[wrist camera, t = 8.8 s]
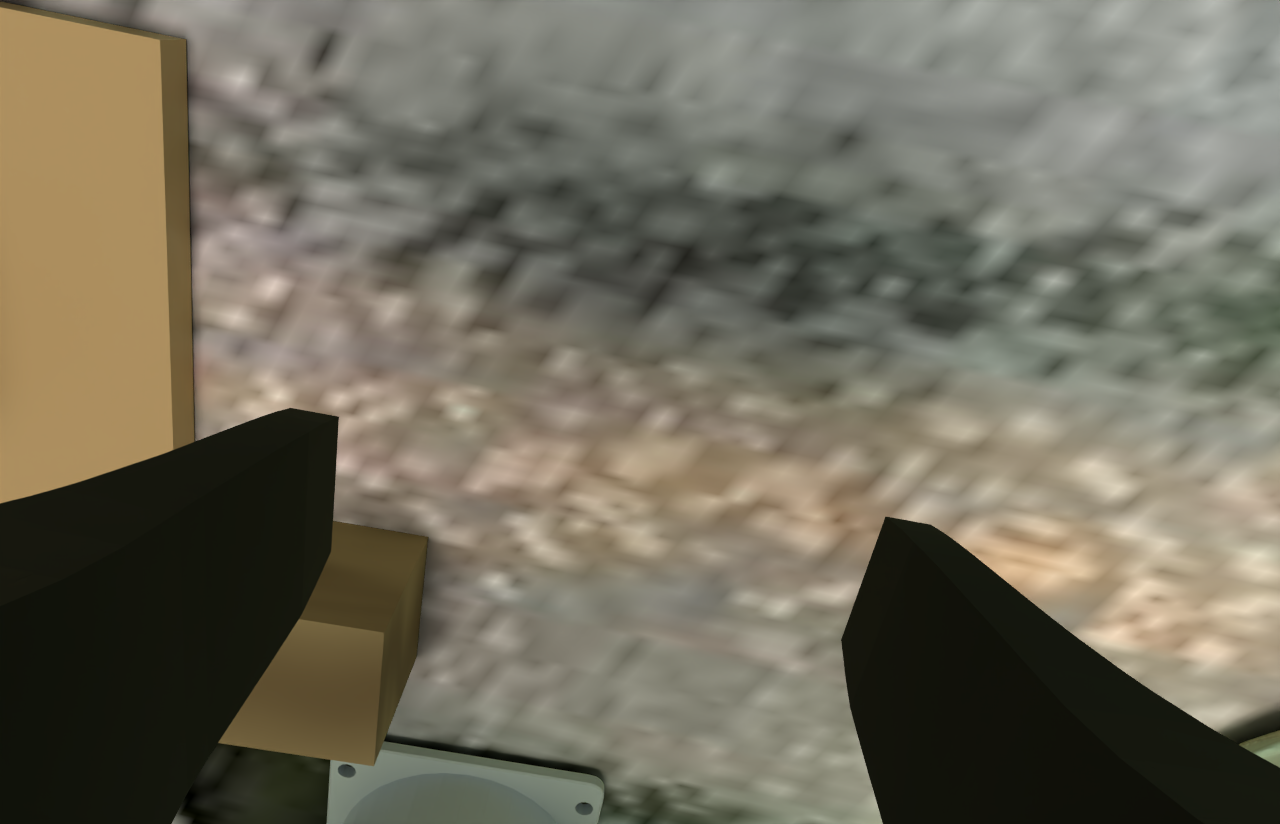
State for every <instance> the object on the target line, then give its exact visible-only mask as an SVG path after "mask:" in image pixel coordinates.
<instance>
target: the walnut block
mask: <svg viewBox="0 0 1280 824" xmlns="http://www.w3.org/2000/svg"><path fill="white" fill-rule="evenodd" d="M427 544H428V537H425V536H419V535H413V534H407V533H401V532H396V531H390V530H384V529H378V528H372V527H366V526H360V525H354V524H348V523H342V522H336V521H333V529H332V547H331V553H330V555H329V557H328V560H327V562H326V564H325V566H324V568H323V571H322V573H321V575H320V577H319V580H318V582H317V584H316V586H315V588H314V590H313V592H312V594H311V596H310V599H309V601H308V603H307V605H306V607H305V609H304V611H303V613H302V615H301V617H300V618H299V620H298V621H297V623H296V624H295V626H294V628H293V629H292V631H291V632H290V634H289V635H288V637H287V639H286V640H285V642H284V643H283V645H282V646H281V648H280V649H279V651H278V652H277V654H276V656H275V657H274V659H273V660H272V662H271V663H270V665H269V666H268V668H267V669H266V671H265V672H264V674H263V675H262V677H261V678H260V680H259V681H258V683H257V684H256V686H255V688H254V689H253V691H252V692H251V694H250V695H249V697H248V698H247V700H246V701H245V703H244V704H243V706H242V707H241V709H240V710H239V712H238V713H237V715H236V716H235V718H234V719H233V721H232V722H231V724H230V725H229V727H228V728H227V730H226V732H225V733H224V735H223V736H222V738H221V739H220V741H219V742H218V743H223V744H230V745H236V746H243V747H249V748H256V749H263V750H269V751H276V752H282V753H289V754H296V755H302V756H309V757H315V758H322V759H329V760H335V761H342V762H348V763H355V764H362V765H368V766H374V765H375V762H376V760H377V757H378V755H379V752H380V749H381V747H382V744H383V742H384V739H385V737H386V734H387V731H388V729H389V726H390V724H391V721H392V719H393V716H394V713H395V711H396V708H397V706H398V703H399V701H400V698H401V695H402V693H403V690H404V688H405V685H406V683H407V680H408V677H409V675H410V672H411V670H412V667H413V665H414V662H415V659H416V657H417V647H418V636H419V626H420V616H421V606H422V595H423V585H424V575H425V564H426V554H427Z"/></svg>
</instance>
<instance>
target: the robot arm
mask: <svg viewBox="0 0 1280 824" xmlns="http://www.w3.org/2000/svg"><path fill="white" fill-rule="evenodd" d="M338 420H339V417H337V416H332V415H326V414H321V413H315V412H310V411H304V410H299V409H293V408H289V409H285V410H281V411H277V412H274V413H271V414H268V415H265V416H262V417H259V418H257V419H254V420H251V421H248V422H246V423H243V424H240V425H238V426H235V427H233V428H230V429H227V430H225V431H222V432H219V433H217V434H214V435H212V436H209V437H206V438H204V439H201V440H198V441H196V442H193V443H190V444H188V445H185V446H182V447H180V448H177V449H174V450H172V451H169V452H167V453H164V454H161V455H158V456H155V457H152V458H149V459H146V460H143V461H140V462H137V463H134V464H131V465H128V466H125V467H122V468H119V469H116V470H113V471H110V472H107V473H104V474H101V475H98V476H96V477H93V478H90V479H87V480H84V481H81V482H77V483H74V484H71V485H67V486H64V487H60V488H57V489H53V490H50V491H46V492H43V493H39V494H35V495H32V496H28V497H24V498H20V499H16V500H12V501H8V502H4V503H0V824H171V823H172V821H173V819H174V817H175V816H176V814H177V812H178V810H179V808H180V806H181V804H182V802H183V800H184V798H185V796H186V794H187V793H188V791H189V789H190V787H191V786H192V784H193V782H194V781H195V779H196V777H197V776H198V774H199V772H200V771H201V769H202V767H203V766H204V764H205V762H206V761H207V759H208V757H209V756H210V754H211V753H212V751H213V750H214V748H215V747H216V745H217V744H218V742H219V741H220V739H221V738H222V736H223V735H224V733H225V732H226V730H227V728H228V727H229V725H230V724H231V722H232V721H233V719H234V718H235V716H236V715H237V713H238V712H239V710H240V709H241V707H242V706H243V704H244V703H245V701H246V700H247V698H248V697H249V695H250V694H251V692H252V691H253V689H254V688H255V686H256V684H257V683H258V681H259V680H260V678H261V677H262V675H263V674H264V672H265V671H266V669H267V668H268V666H269V665H270V663H271V662H272V660H273V659H274V657H275V656H276V654H277V652H278V651H279V649H280V648H281V646H282V645H283V643H284V642H285V640H286V639H287V637H288V635H289V634H290V632H291V631H292V629H293V628H294V626H295V624H296V623H297V621H298V620H299V618H300V617H301V615H302V613H303V611H304V609H305V607H306V605H307V603H308V601H309V599H310V596H311V594H312V592H313V590H314V588H315V586H316V584H317V582H318V580H319V577H320V575H321V573H322V571H323V568H324V566H325V564H326V562H327V560H328V557H329V555H330V553H331V547H332V529H333V511H334V492H335V474H336V456H337V438H338ZM841 641H842V650H843V659H844V667H845V676H846V683H847V689H848V696H849V703H850V708H851V712H852V716H853V720H854V723H855V727H856V731H857V734H858V738H859V741H860V745H861V749H862V752H863V756H864V759H865V763H866V766H867V770H868V773H869V777H870V780H871V784H872V787H873V790H874V794H875V797H876V801H877V804H878V808H879V811H880V815H881V818H882V822H883V824H1280V767H1278V766H1276V765H1274V764H1272V763H1271V762H1269V761H1267V760H1265V759H1263V758H1261V757H1260V756H1258V755H1256V754H1254V753H1252V752H1250V751H1249V750H1247V749H1245V748H1243V747H1242V746H1240V745H1238V744H1237V743H1235V742H1233V741H1231V740H1230V739H1228V738H1226V737H1225V736H1223V735H1221V734H1220V733H1218V732H1216V731H1214V730H1213V729H1211V728H1209V727H1208V726H1206V725H1205V724H1203V723H1201V722H1200V721H1198V720H1197V719H1195V718H1194V717H1192V716H1190V715H1189V714H1187V713H1186V712H1184V711H1183V710H1181V709H1179V708H1178V707H1176V706H1175V705H1173V704H1172V703H1170V702H1168V701H1167V700H1165V699H1164V698H1162V697H1161V696H1159V695H1157V694H1156V693H1154V692H1153V691H1151V690H1150V689H1148V688H1147V687H1145V686H1144V685H1142V684H1141V683H1139V682H1138V681H1136V680H1135V679H1134V678H1132V677H1131V676H1129V675H1128V674H1126V673H1125V672H1123V671H1122V670H1121V669H1119V668H1118V667H1116V666H1115V665H1114V664H1112V663H1111V662H1110V661H1108V660H1107V659H1106V658H1104V657H1103V656H1101V655H1100V654H1099V653H1097V652H1096V651H1095V650H1093V649H1092V648H1090V647H1089V646H1088V645H1086V644H1085V643H1084V642H1082V641H1081V640H1079V639H1078V638H1077V637H1076V636H1074V635H1073V634H1072V633H1070V632H1069V631H1068V630H1066V629H1065V628H1064V627H1063V626H1061V625H1060V624H1059V623H1057V622H1056V621H1055V620H1053V619H1052V618H1051V617H1050V616H1048V615H1047V614H1046V613H1045V612H1043V611H1042V610H1041V609H1039V608H1038V607H1037V606H1036V605H1034V604H1033V603H1032V602H1031V601H1030V600H1028V599H1027V598H1026V597H1025V596H1023V595H1022V594H1021V593H1020V592H1018V591H1017V590H1016V589H1015V588H1013V587H1012V586H1011V585H1010V584H1008V583H1007V582H1006V581H1005V580H1004V579H1002V578H1001V577H1000V576H999V575H997V574H996V573H995V572H994V571H992V570H991V569H990V568H989V567H987V566H986V565H985V564H984V563H983V562H981V561H980V560H979V559H978V558H976V557H975V556H974V555H973V554H971V553H970V552H969V551H967V550H966V549H965V548H963V547H962V546H961V545H960V544H958V543H957V542H956V541H954V540H953V539H952V538H950V537H949V536H947V535H946V534H944V533H943V532H942V531H940V530H938V529H937V528H935V527H933V526H932V525H929V524H924V523H918V522H913V521H907V520H902V519H896V518H891V517H885V520H884V523H883V525H882V528H881V531H880V534H879V537H878V539H877V542H876V545H875V548H874V550H873V553H872V556H871V559H870V561H869V564H868V567H867V570H866V573H865V575H864V578H863V581H862V584H861V586H860V589H859V592H858V595H857V598H856V600H855V603H854V606H853V609H852V611H851V614H850V617H849V620H848V623H847V625H846V628H845V631H844V634H843V636H842V639H841ZM345 764H348V765H351V766H353V767H349V766H347V765H345ZM603 799H604V784H603V782H602V780H600V779H599V778H598V777H596V776H593V775H589V774H583V773H577V772H570V771H564V770H558V769H552V768H546V767H540V766H533V765H527V764H521V763H515V762H509V761H502V760H496V759H490V758H484V757H478V756H471V755H465V754H459V753H453V752H447V751H440V750H434V749H428V748H422V747H416V746H410V745H403V744H397V743H391V742H385V741H384V742H383V744H382V747H381V749H380V752H379V755H378V757H377V760H376V762H375V765H374V766H368V765H362V764H355V763H348V762H342V761H335V760H331V761H330V778H329V794H328V810H327V824H598V820H599V816H600V812H601V807H602V803H603ZM581 802H586V803H589V804H582V803H581Z"/></svg>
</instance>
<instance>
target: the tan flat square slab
mask: <svg viewBox="0 0 1280 824" xmlns="http://www.w3.org/2000/svg"><path fill="white" fill-rule="evenodd" d="M193 442H194V399H193V351H192V303H191V255H190V207H189V159H188V111H187V63H186V39H182V38H177V37H172V36H167V35H162V34H157V33H153V32H148V31H143V30H138V29H133V28H128V27H123V26H118V25H114V24H109V23H104V22H99V21H94V20H89V19H84V18H79V17H75V16H70V15H65V14H60V13H55V12H50V11H45V10H40V9H36V8H31V7H26V6H21V5H16V4H11V3H6V2H1V1H0V503H4V502H8V501H12V500H16V499H20V498H24V497H28V496H32V495H35V494H39V493H43V492H46V491H50V490H53V489H57V488H60V487H64V486H67V485H71V484H74V483H77V482H81V481H84V480H87V479H90V478H93V477H96V476H98V475H101V474H104V473H107V472H110V471H113V470H116V469H119V468H122V467H125V466H128V465H131V464H134V463H137V462H140V461H143V460H146V459H149V458H152V457H155V456H158V455H161V454H164V453H167V452H169V451H172V450H174V449H177V448H180V447H182V446H185V445H188V444H190V443H193Z"/></svg>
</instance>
